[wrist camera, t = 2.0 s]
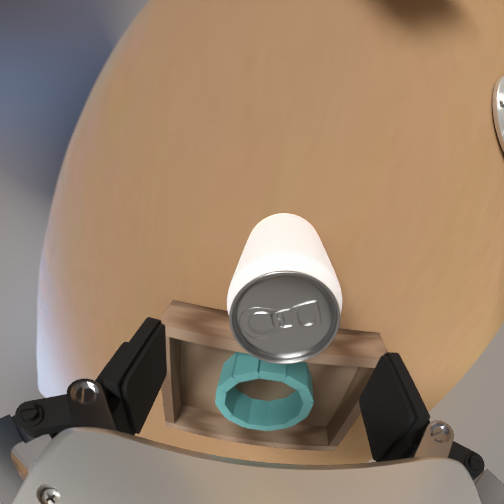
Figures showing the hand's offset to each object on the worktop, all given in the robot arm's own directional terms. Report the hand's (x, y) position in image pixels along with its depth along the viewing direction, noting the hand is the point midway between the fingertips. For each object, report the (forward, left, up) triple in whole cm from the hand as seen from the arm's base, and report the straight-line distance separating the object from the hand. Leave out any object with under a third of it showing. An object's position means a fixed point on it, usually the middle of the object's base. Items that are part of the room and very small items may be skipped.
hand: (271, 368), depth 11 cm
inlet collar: (-1, +15, -14) cm, 20 cm away
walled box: (-1, +16, -15) cm, 22 cm away
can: (0, 0, -15) cm, 15 cm away
